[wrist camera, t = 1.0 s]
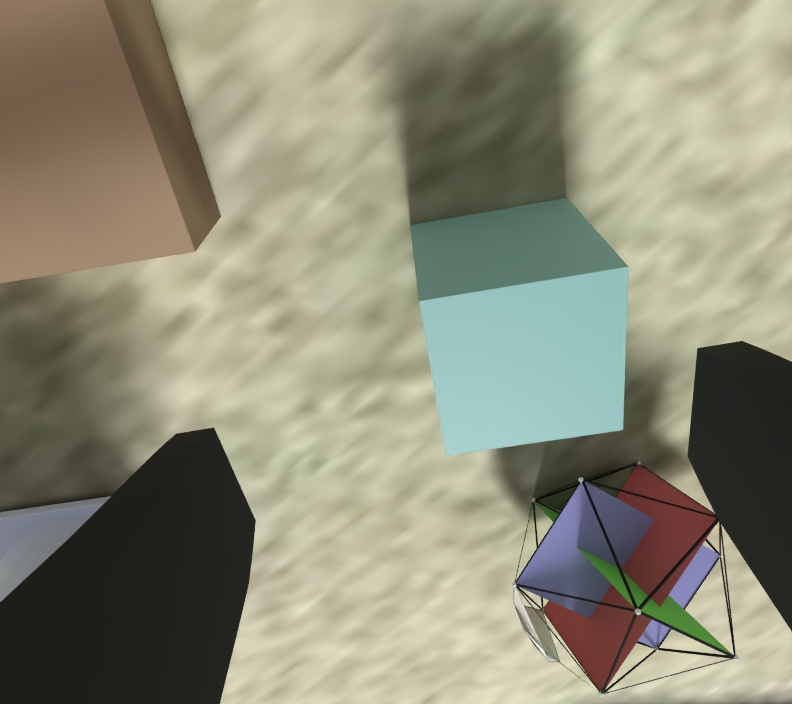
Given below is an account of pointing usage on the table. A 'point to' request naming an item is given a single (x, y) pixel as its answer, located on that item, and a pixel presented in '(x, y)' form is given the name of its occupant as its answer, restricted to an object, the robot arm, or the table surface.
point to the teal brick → (522, 325)
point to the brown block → (93, 141)
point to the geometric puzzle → (619, 573)
